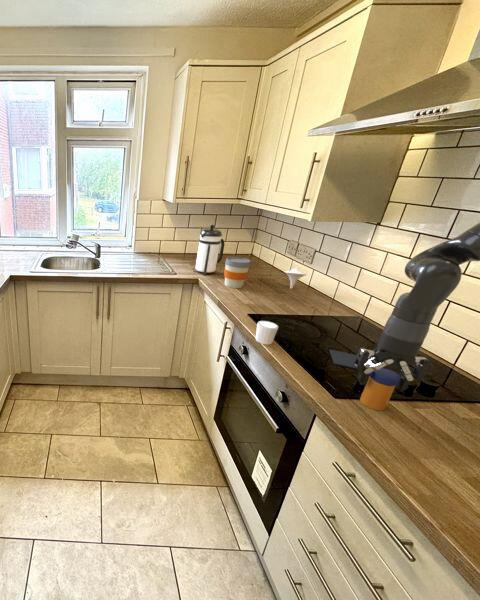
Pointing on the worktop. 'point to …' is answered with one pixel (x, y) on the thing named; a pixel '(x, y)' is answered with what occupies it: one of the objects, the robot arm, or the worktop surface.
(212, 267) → the coffee press
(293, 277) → the mushroom
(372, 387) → the jar
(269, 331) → the white cylinder
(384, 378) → the jar lid
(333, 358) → the coaster
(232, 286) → the reusable coffee cup
